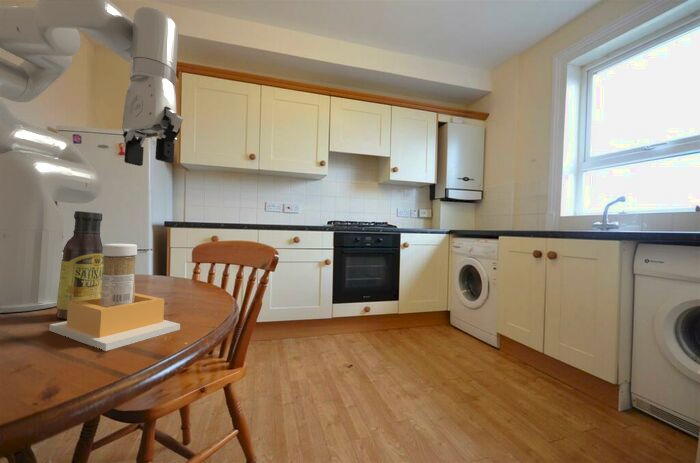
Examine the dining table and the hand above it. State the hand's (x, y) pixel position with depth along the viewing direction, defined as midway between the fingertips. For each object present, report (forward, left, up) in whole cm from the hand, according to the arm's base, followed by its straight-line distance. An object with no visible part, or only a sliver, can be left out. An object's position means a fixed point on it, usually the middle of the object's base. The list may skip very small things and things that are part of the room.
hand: (148, 162), depth 58 cm
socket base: (+6, -7, -30) cm, 32 cm away
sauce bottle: (-8, -6, -31) cm, 32 cm away
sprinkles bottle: (+6, -7, -30) cm, 31 cm away
